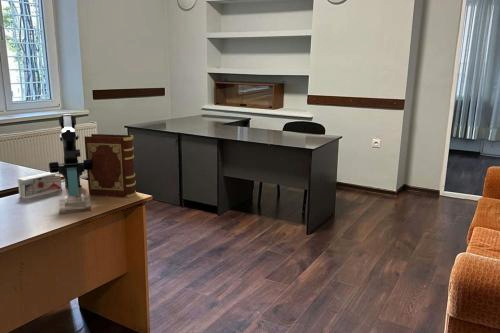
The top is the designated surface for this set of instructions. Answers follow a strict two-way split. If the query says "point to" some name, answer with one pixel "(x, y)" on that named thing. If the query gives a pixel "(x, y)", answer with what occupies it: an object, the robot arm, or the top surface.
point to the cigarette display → (39, 184)
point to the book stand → (74, 205)
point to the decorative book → (111, 165)
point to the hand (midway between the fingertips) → (72, 181)
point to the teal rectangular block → (72, 182)
